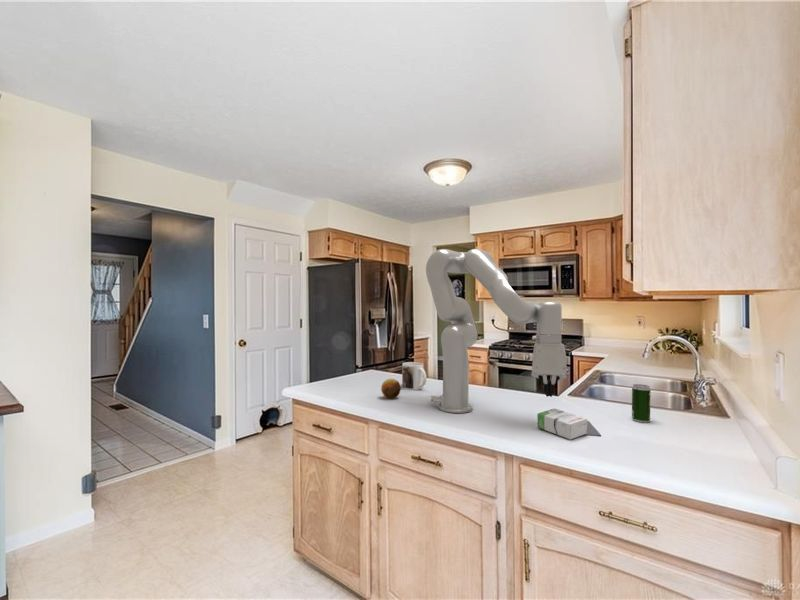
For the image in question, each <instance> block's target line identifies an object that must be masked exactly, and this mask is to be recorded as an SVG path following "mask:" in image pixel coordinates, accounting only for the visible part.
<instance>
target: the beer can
mask: <svg viewBox="0 0 800 600" xmlns="http://www.w3.org/2000/svg"><path fill="white" fill-rule="evenodd" d="M651 393H652V391H651V388H650V385H646V384H638V383H634V384H632V388H631V419H632V420H633V421H634V422H636V423H642V424H648V423H650V420H651V397H652V396H651Z"/></svg>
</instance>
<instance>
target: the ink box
mask: <svg viewBox="0 0 800 600" xmlns="http://www.w3.org/2000/svg"><path fill="white" fill-rule="evenodd" d="M587 421H588V418H586V417H582V416H579V415H576V414H573V413H570V412H568V411H564V410H560V409H558V408H555V407H554V408H552V409H548V410H545V411H541V412H538V413H537V428H539V429H541V430H544V431H547V432H549V433H553V434H554V435H557V436H560V437H562V438H565V439H567V440H573V439H576V438H579V437H581V436H585V435H584V434H587Z"/></svg>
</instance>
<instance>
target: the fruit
mask: <svg viewBox="0 0 800 600" xmlns="http://www.w3.org/2000/svg"><path fill="white" fill-rule="evenodd" d="M380 390H381V393H382V394H383V396H384V397H385V398H387V399H392V400H393V399H395V398H397V397H398V396H399V395H400V392H401V390H402V386H401V383H400V382H399V381H398V380H397V379H394V378H387V379H386V380H383V382H382V385H381V388H380Z"/></svg>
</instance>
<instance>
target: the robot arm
mask: <svg viewBox="0 0 800 600" xmlns="http://www.w3.org/2000/svg"><path fill="white" fill-rule="evenodd" d="M425 265H426V266H425V275H426V279H427V282H428V285H429V288H430V291H431V296H432V299H433V303H434V306H435V310H436V313H437V316H438V318H439V319H440V320H441V321H444V322H451V324H450V325H448V326H446V327H445V328H444V329H443V330H442V333H441V336H440V339H441V340H440V342H441V343H440V344H441V349H442V395H439V396H434V395H431V396H430V401H431V402H433V403H438V409H439V410H440V411H443V412H446V413H452V414H465V413H470V412H471V411H473V405H472V404H470V403H469V382H470V379H469V375H470V374H469V373H470V371H469V369H470V368H469V366H470V365H469V354H468V348H470V347H472V346H474V345H475V344H476V342H477V340H478V336H479V335H478V328H477V325H476V323H475V320H474V316H473V312H472V309H471V306H470V305H469V303H468V301H467V300H466V299H464V298H463V297H459V296H457V295H456V292H455V290H454V286H453V282H452V280H451V279H450V277H449V275H448V273H451V274H469V275H470V274H471V275H472V276H473V277H474V278H475V279H476V280H477V281H478V282H479V283H480V285H481V286H483V288H484V289H485V290H486V291H487V292H488V294H489V295H490V297H491V299H492V300H493V302H494V303H495V304H496V306H497V307H498V308H499V309H500V311H502V312H503V314H504V315H505V316H506V317H507V318H508V319H509V320H511V321H512V322H513V323H515V324H517V325H518V324H519V325H524V324H531V323H532V324H533V323H536V334H535V335H532V337H531V339H532V341H536V342H535V343H534V345H533V350H532V351H533V352H532V362H531V363H532V364H531V369H532V370H531V377H533V378H536V379H539V380H540V381H541V382H542V383H543V394H545V396H546V397H553V395H554V394H555V384H556V383H558V381H559V380H564V379H567V369H568V368H567V354H566V347H565V344H563V343H562V314H563V313H562V312H563V311H562V310H563V309H562V304H561V303H560V302H556V301H540V302H536V301H529V300H524V299H523V298H522V297H521V296H520V295H519V294H518V293H516V291H515V290H514V289H513V288H512V286H511V285H510V284H509V277H508V275H507V273H506V272H505V271H503V270H502V268H500V267H499V266H498V264H496V263H495V259H494V257H493V255H492V254H491V253H490V252H488V251H485V250H483V249H480V248H472V249H470V250H468V251H455V250H452V249H447V248H441V249H437V250H435V251H434V252H433V253H431V254H430V256H429V257H428V260H427V262H426V264H425ZM548 376H550V377H549V378H550V379H549V381H548Z"/></svg>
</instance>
